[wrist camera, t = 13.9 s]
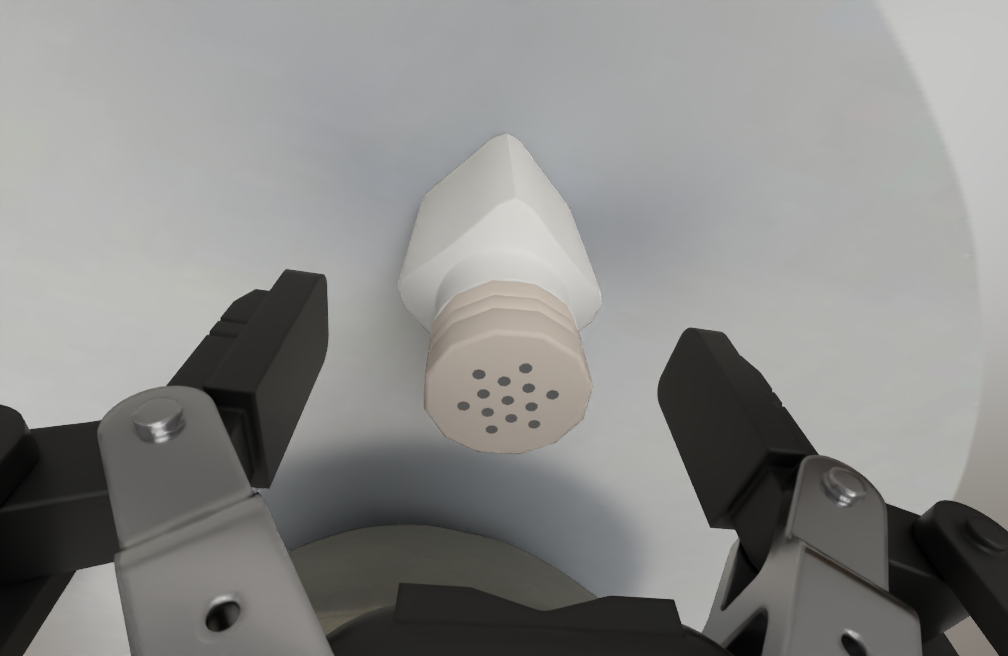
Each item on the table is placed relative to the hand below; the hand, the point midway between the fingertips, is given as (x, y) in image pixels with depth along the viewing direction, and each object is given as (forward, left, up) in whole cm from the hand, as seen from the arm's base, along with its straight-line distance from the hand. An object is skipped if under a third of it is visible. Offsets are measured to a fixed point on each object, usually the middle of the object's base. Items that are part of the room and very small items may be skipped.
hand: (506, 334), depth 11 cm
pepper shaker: (0, 0, -8) cm, 8 cm away
